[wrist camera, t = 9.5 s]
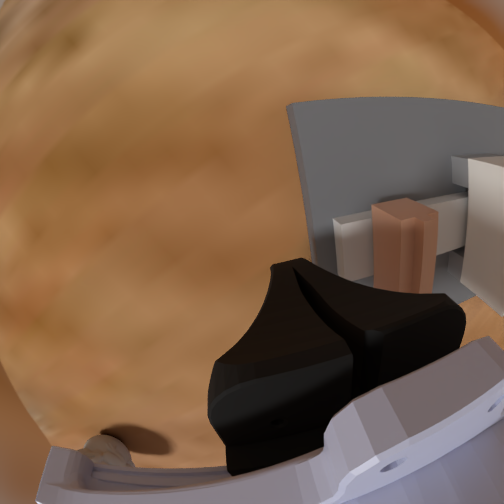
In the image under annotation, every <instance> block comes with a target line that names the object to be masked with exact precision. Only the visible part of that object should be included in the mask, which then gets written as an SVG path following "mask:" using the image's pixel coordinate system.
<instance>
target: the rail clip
mask: <svg viewBox="0 0 504 504" xmlns="http://www.w3.org/2000/svg"><path fill="white" fill-rule="evenodd" d="M371 208H372V225H373V256H374V285H373V288H378V289H383V290H389V291H395V292H404V293H419V294H423V293H432V288H433V280H434V272H435V263H436V252H437V238H438V213H439V212H438V211H436V210H434V209H432V208H429V207H427V206H425V205H423V204H420V203H418V202H416V201H413V200H411V199H409V198H402V199H397V200H392V201H387V202H382V203H377V204H372V205H371Z"/></svg>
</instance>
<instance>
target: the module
mask: <svg viewBox="0 0 504 504" xmlns="http://www.w3.org/2000/svg"><path fill="white" fill-rule="evenodd" d="M451 159H452V183H454V184H457V185H460V186H463V187H466V188H469V189H468V219H467V232H466V243H465V246H463V247H460V248H457V249H454V250H451V251H450V253H449V262H448V270H447V272H449V273H450V274H451V275H453V276H454V277H455V278H456V279H458V280H459V281H460V282H461V283H462V284H463V285H464V286H466V287H467V288H468V289H469V290H471V291H472V292H473V293H474V294H476V295H477V296H478V297H479V298H480V299H482V300H483V301H484V302H485V303H486V304H488V305H489V306H490V307H491V308H492V309H493V310H495V311H496V312H497V313H498V314H499V315H500V316H501V317H502V316H504V156H498V155H494V154H489V153H485V154H468V155H454V156H451Z"/></svg>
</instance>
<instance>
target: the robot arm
mask: <svg viewBox="0 0 504 504" xmlns="http://www.w3.org/2000/svg"><path fill="white" fill-rule="evenodd" d="M270 270H271V279H270V284H269V288H268V292H267V295H266V297H265V300H264V303H263V305H262V307H261V310H260V311H259V313H258V315H257V317H256V319H255V320H254V322H253V323H252V325H251V327H250V328H249V329H248V331H247V332H246V333H245V334H244V336H243V337H242V338H241V339H240V340H239V341H238V342H237V343H236V344H235V345H234V346H233V347H232V348H231V349H230V350H228V351H227V352H226V353H225V354H224V355H222V356H221V357H220V358H219V359H217V360H216V361H215V363H214V367H213V370H212V374H211V379H210V384H209V389H208V418H209V421H210V423H211V425H212V426H213V428H214V429H215V431H216V432H217V434H218V435H219V437H220V438H221V440H222V441H223V443H224V444H225V446H226V464H227V466H218V467H204V468H178V469H163V468H137V467H124V466H114V465H105V464H98V463H93V461H92V460H91V459H90V458H88V457H87V456H86V455H84V454H83V453H81V452H79V451H77V450H73V449H68V448H62V447H57V446H51V449H50V452H49V455H48V458H47V461H46V465H45V468H44V471H43V474H42V478H41V481H40V485H39V489H38V492H37V496H36V500H35V501H36V502H37V504H504V351H503V350H502V349H501V348H500V347H499V346H498V345H497V344H496V343H495V342H494V341H493V340H492V339H491V338H490V337H489V336H487V337H483V338H480V339H477V340H474V341H471V342H469V343H468V344H466V345H464V346H463V347H461V348H459V347H460V344H461V341H462V338H463V335H464V331H465V326H466V315H465V313H464V311H463V309H462V308H461V307H460V306H459V305H458V304H457V303H456V302H454V301H453V300H452V299H451V298H450V297H449V296H448V295H446V294H445V293H423V294H419V293H404V292H395V291H389V290H383V289H378V288H373V287H369V286H366V285H362V284H359V283H356V282H353V281H350V280H347V279H345V278H342V277H340V276H337V275H335V274H333V273H331V272H329V271H327V270H325V269H323V268H321V267H319V266H317V265H315V264H313V263H311V262H310V261H308V260H306V259H304V258H298V259H294V260H290V261H286V262H281V263H277V264H273V265H272V266H271V267H270Z"/></svg>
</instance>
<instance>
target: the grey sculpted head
mask: <svg viewBox="0 0 504 504" xmlns="http://www.w3.org/2000/svg"><path fill="white" fill-rule="evenodd" d="M77 451H79V452H81V453H83V454H84V455H86V456H87V457H88V458H90V459H91V460H92V461H93V463H98V464H105V465H114V466H124V467H135V465H134V463H133V462H132V459H131V455H130V452H129V450H128V449H127V447H126V446H125V445H124V444H123V443H122V442H121V441H119V440H118V439H116V438H114V437H112V436H109V435H96V436H94V437H91V438H90V439H89V440H88V441H87V442H86V443H85V445H84V448H83V449H80V450H77Z"/></svg>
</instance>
